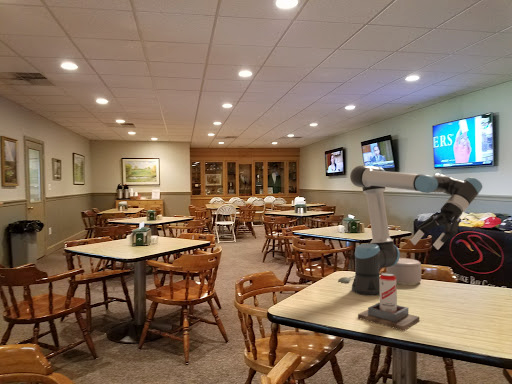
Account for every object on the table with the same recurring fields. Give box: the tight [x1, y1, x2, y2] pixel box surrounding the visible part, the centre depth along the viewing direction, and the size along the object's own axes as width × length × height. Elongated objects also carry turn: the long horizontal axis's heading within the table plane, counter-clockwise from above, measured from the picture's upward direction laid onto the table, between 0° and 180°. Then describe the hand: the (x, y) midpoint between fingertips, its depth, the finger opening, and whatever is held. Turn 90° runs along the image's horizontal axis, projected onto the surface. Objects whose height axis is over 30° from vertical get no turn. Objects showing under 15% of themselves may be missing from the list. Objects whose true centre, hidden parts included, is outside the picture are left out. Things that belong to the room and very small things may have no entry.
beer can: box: [379, 272, 398, 313], centre depth 134 cm, size 6×6×16 cm
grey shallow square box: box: [367, 302, 409, 323], centre depth 134 cm, size 11×11×3 cm
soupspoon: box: [337, 275, 355, 284], centre depth 198 cm, size 22×3×7 cm
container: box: [385, 257, 422, 286], centre depth 193 cm, size 18×18×12 cm
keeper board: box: [357, 309, 420, 331], centre depth 134 cm, size 18×14×2 cm
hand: (423, 245), depth 141 cm, fingers open, 13 cm apart
